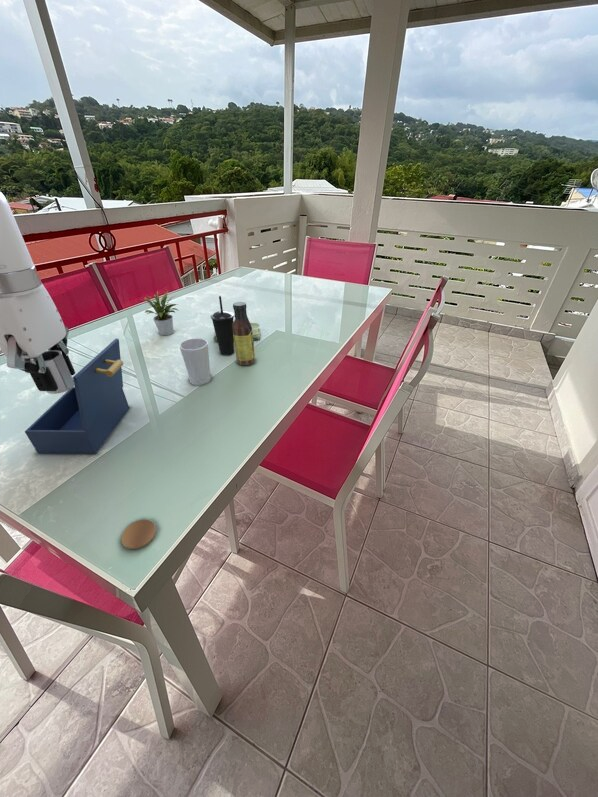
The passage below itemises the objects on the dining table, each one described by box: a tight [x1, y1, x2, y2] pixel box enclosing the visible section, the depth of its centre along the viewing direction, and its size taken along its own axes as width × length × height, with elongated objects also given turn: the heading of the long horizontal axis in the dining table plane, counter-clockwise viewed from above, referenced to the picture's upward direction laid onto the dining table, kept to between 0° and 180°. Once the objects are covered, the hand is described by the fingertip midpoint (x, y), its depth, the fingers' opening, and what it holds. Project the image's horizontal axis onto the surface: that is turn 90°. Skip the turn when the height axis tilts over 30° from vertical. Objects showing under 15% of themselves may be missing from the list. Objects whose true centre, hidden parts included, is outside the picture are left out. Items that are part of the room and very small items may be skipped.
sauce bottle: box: [232, 301, 256, 366], centre depth 106 cm, size 6×6×20 cm
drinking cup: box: [210, 295, 235, 356], centre depth 111 cm, size 8×8×20 cm
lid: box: [72, 338, 124, 431], centre depth 74 cm, size 14×18×4 cm
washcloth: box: [213, 322, 261, 342], centre depth 128 cm, size 13×18×3 cm
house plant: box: [139, 290, 179, 336], centre depth 125 cm, size 14×14×16 cm
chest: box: [24, 386, 130, 455], centre depth 80 cm, size 13×18×7 cm
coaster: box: [120, 519, 157, 551], centre depth 58 cm, size 6×6×1 cm
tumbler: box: [30, 350, 75, 395], centre depth 60 cm, size 5×5×6 cm
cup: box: [178, 337, 212, 386], centre depth 98 cm, size 8×8×12 cm
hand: (57, 381), depth 61 cm, fingers closed on tumbler, 4 cm apart
